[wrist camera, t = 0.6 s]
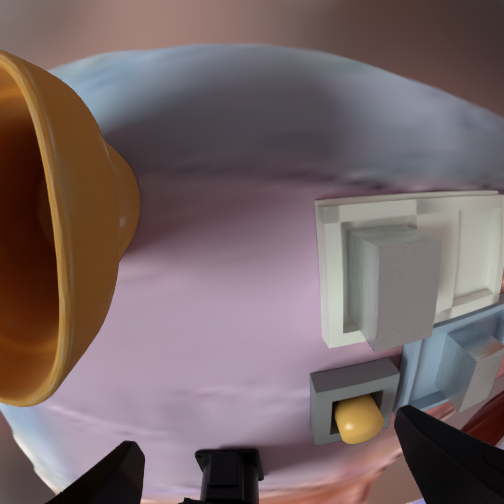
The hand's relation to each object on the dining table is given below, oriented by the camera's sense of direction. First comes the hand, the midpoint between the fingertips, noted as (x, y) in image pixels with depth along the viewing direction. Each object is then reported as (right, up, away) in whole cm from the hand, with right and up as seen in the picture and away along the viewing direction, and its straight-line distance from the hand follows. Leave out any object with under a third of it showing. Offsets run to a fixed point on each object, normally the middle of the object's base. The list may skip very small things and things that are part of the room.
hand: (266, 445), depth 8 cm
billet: (+19, -4, +14) cm, 24 cm away
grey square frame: (+8, -7, +15) cm, 18 cm away
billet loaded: (+8, +5, +11) cm, 14 cm away
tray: (+19, -4, +14) cm, 24 cm away
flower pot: (-12, +10, +11) cm, 19 cm away
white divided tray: (+13, +6, +12) cm, 18 cm away
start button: (+8, -7, +13) cm, 17 cm away
